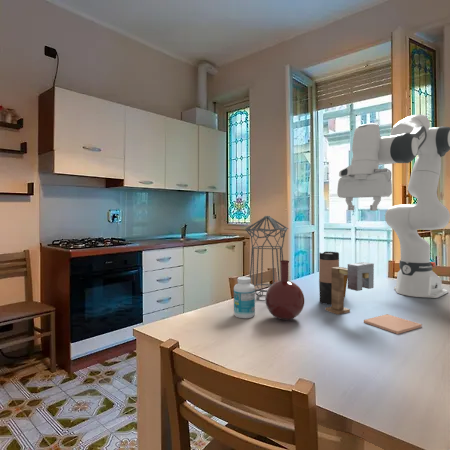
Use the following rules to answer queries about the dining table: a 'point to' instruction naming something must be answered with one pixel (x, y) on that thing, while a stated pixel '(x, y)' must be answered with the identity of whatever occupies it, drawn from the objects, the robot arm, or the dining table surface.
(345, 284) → the disposable coffee cup
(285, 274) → the round-bottom flask
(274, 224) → the geometric lantern
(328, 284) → the travel mug
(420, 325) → the tile
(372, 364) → the dining table surface
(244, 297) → the pill bottle
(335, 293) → the stand
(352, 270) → the brushed grey metal block
